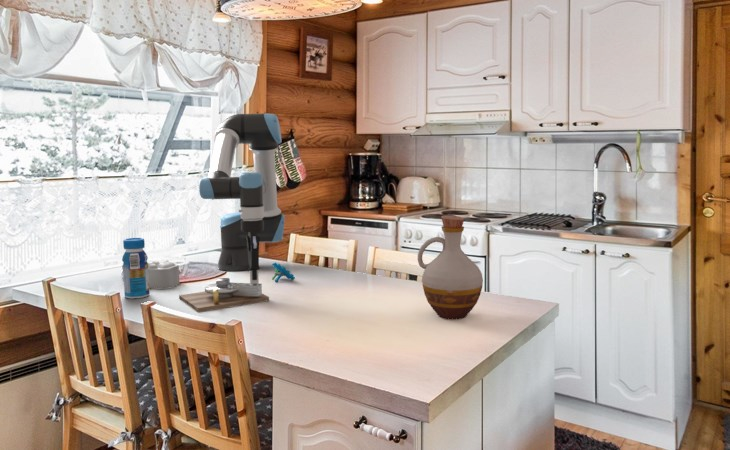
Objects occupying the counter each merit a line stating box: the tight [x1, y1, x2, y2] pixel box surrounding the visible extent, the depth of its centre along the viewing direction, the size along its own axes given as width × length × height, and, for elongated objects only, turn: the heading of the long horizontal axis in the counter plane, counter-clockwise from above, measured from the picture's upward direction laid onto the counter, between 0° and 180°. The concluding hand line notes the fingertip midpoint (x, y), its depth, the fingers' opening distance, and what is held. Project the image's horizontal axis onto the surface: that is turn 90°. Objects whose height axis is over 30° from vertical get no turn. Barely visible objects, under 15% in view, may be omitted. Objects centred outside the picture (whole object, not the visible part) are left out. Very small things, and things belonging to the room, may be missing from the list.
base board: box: [178, 291, 270, 313], centre depth 202 cm, size 20×24×3 cm
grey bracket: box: [204, 277, 263, 296], centre depth 201 cm, size 19×12×5 cm, turn 79°
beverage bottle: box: [121, 237, 151, 300], centre depth 207 cm, size 8×8×20 cm
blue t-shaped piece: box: [271, 262, 296, 283], centre depth 229 cm, size 11×6×10 cm
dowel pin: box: [213, 290, 219, 305], centre depth 192 cm, size 2×2×4 cm
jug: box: [417, 215, 484, 321], centre depth 179 cm, size 20×18×30 cm
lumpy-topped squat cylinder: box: [147, 260, 180, 290], centre depth 225 cm, size 10×13×9 cm
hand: (254, 288), depth 203 cm, fingers closed
